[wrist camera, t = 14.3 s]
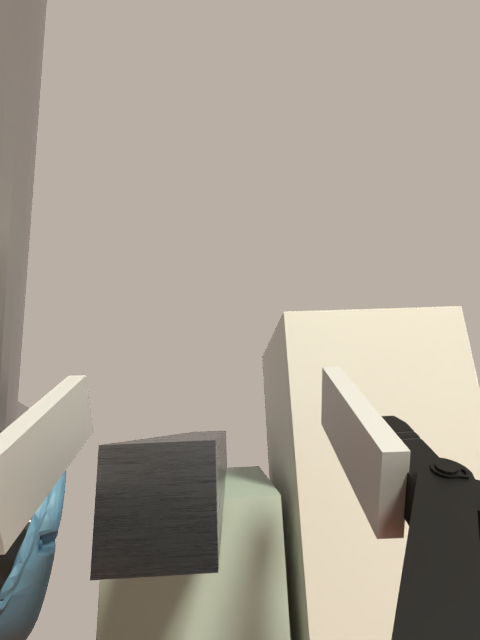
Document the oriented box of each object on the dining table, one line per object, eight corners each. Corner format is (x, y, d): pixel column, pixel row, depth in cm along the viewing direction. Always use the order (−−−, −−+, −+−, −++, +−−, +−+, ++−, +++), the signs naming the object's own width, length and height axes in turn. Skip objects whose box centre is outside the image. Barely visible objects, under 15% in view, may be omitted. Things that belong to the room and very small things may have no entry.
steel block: (218, 572, 10) (215, 440, 11) (90, 580, 10) (98, 445, 11) (226, 464, 39) (225, 430, 40) (193, 466, 39) (193, 432, 40)
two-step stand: (606, 952, 16) (461, 306, 24) (74, 1008, 15) (114, 317, 24) (421, 695, 31) (371, 352, 40) (152, 715, 30) (159, 360, 39)
